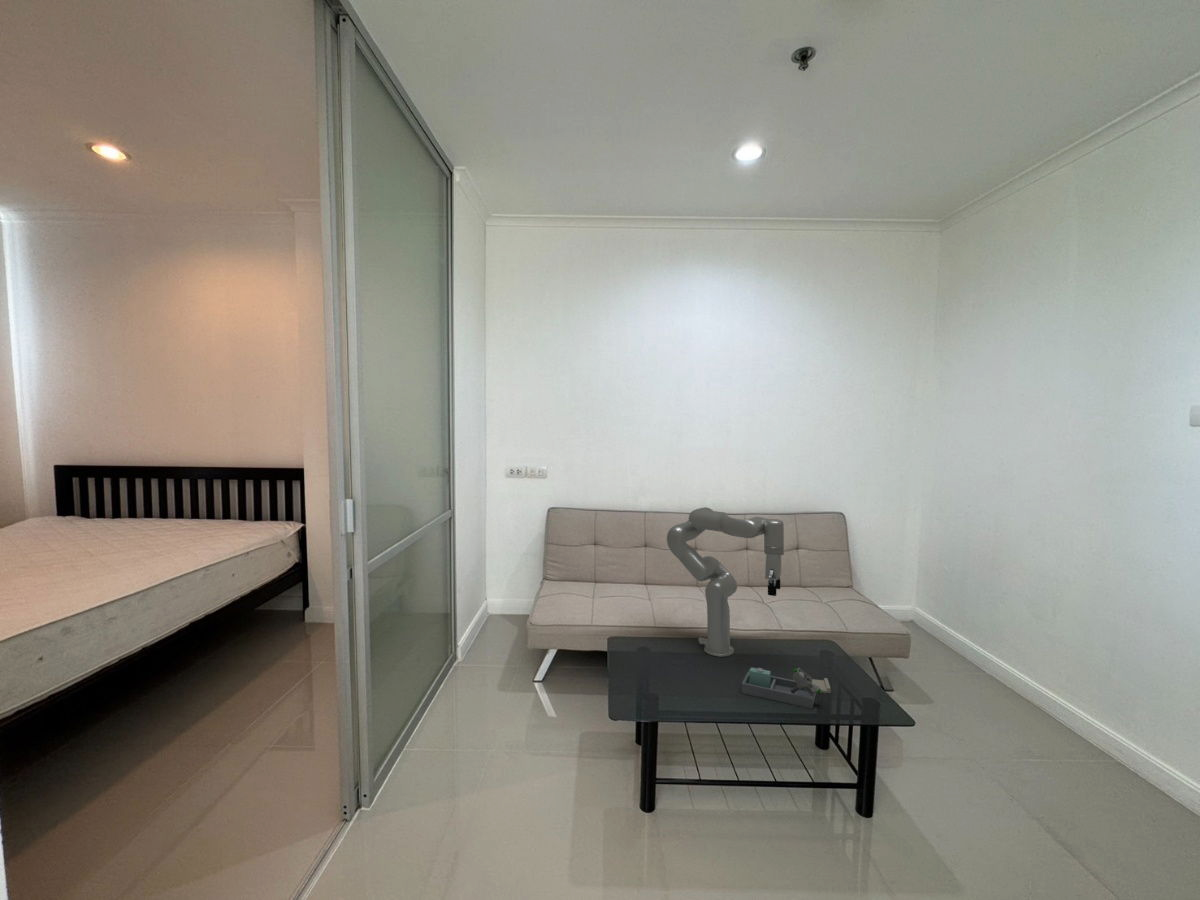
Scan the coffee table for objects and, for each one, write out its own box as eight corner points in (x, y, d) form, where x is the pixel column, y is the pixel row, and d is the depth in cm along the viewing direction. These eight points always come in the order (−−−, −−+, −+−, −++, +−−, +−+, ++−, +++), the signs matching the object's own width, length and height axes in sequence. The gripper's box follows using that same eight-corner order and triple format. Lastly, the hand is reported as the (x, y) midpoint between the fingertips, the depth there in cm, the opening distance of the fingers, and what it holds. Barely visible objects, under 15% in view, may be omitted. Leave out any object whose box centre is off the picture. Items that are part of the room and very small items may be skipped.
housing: (741, 693, 184) (741, 672, 184) (748, 680, 194) (748, 660, 194) (812, 709, 173) (812, 687, 173) (815, 694, 183) (815, 673, 182)
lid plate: (801, 689, 186) (801, 685, 186) (799, 679, 194) (798, 675, 193) (830, 693, 183) (830, 688, 183) (827, 682, 191) (827, 678, 191)
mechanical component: (802, 704, 179) (820, 693, 173) (778, 683, 182) (794, 671, 176) (805, 698, 181) (822, 687, 175) (781, 677, 184) (797, 665, 178)
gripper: (768, 545, 214) (768, 585, 214) (760, 553, 198) (760, 596, 199) (786, 546, 210) (787, 587, 211) (780, 555, 195) (780, 599, 195)
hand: (774, 591), depth 205 cm, fingers open, 9 cm apart
